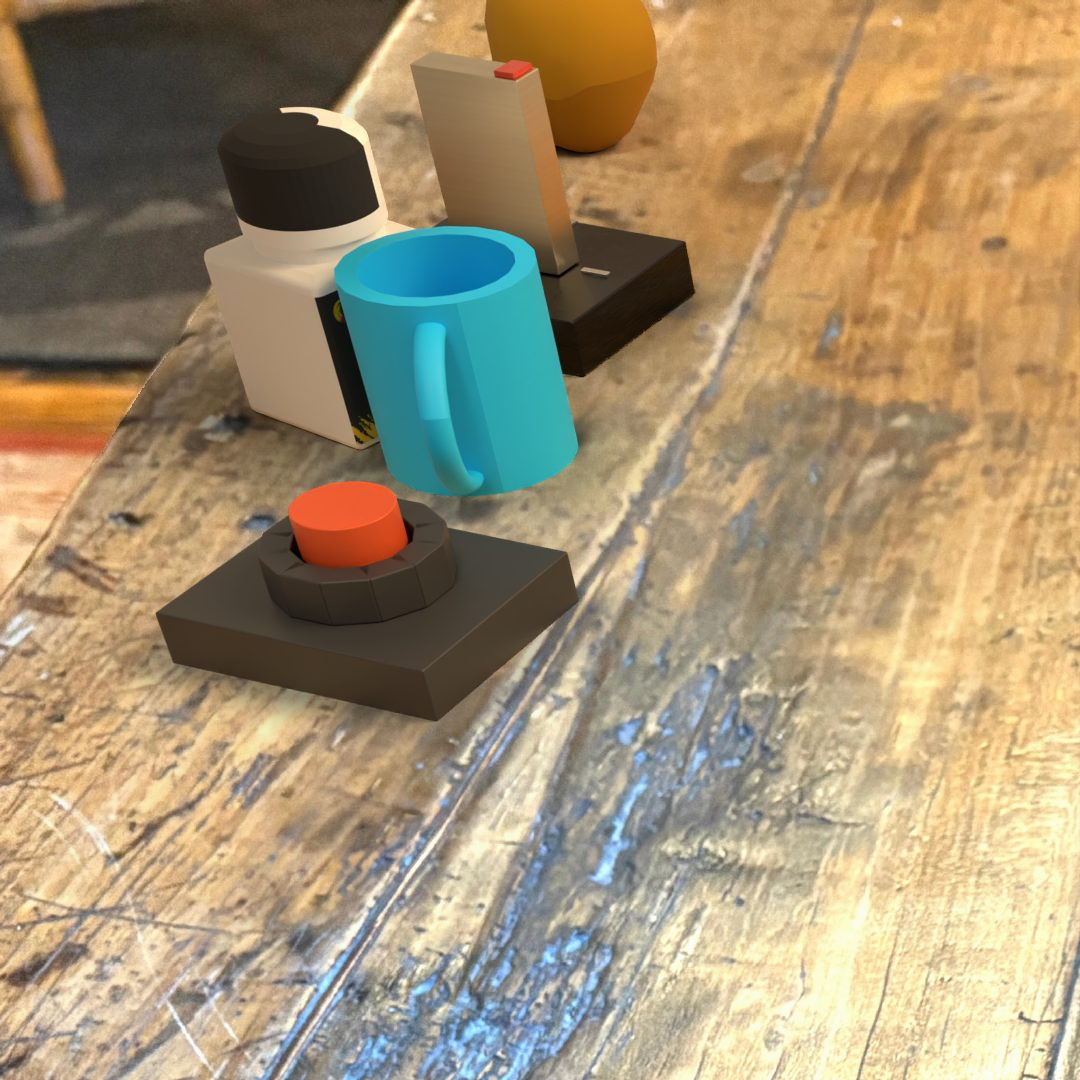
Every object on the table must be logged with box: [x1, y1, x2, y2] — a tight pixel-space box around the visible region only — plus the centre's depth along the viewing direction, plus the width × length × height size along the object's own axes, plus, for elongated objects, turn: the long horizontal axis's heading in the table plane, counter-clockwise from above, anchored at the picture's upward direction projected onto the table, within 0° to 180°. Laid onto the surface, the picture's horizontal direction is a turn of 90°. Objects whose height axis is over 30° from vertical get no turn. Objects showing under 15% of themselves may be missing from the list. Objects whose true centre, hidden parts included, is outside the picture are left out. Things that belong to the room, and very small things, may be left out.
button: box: [287, 480, 408, 568], centre depth 102 cm, size 4×4×2 cm
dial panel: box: [432, 217, 696, 377], centre depth 125 cm, size 12×10×3 cm
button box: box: [155, 497, 579, 722], centre depth 104 cm, size 12×10×4 cm
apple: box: [484, 0, 658, 153], centre depth 138 cm, size 9×8×9 cm
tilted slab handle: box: [409, 50, 579, 275], centre depth 121 cm, size 6×2×9 cm, turn 71°
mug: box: [334, 226, 580, 498], centre depth 112 cm, size 12×8×8 cm
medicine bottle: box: [203, 106, 415, 451], centre depth 115 cm, size 7×7×12 cm
